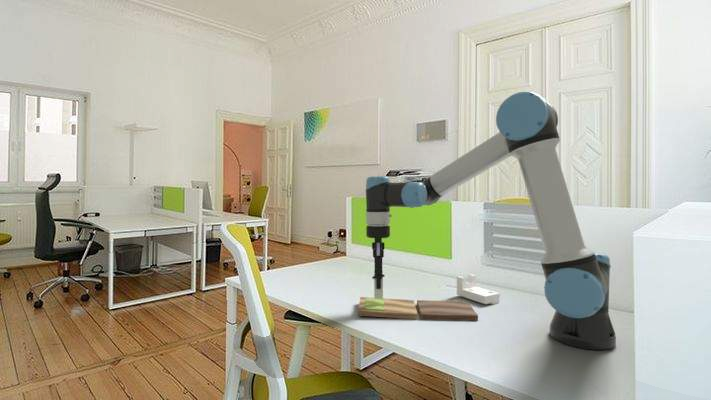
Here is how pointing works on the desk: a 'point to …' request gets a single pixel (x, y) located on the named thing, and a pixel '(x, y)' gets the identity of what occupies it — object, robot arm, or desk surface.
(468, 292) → the bracket
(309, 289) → the desk surface
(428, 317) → the walnut laid plank
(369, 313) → the board
